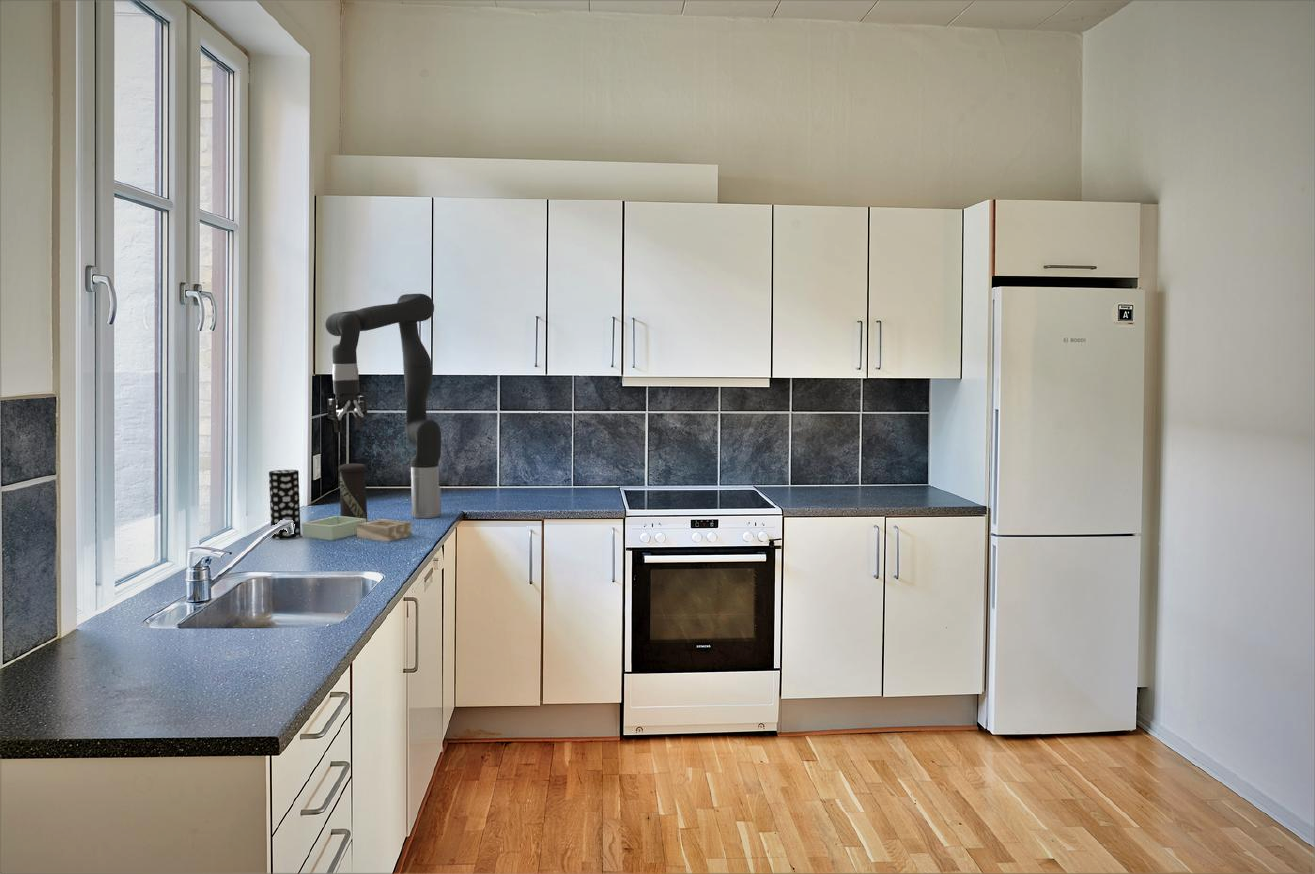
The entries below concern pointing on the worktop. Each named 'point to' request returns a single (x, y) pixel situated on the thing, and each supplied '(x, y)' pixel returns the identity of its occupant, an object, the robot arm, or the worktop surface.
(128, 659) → the worktop surface
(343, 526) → the bin
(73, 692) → the worktop surface
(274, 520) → the spotted tube
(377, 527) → the brown hollow flat block
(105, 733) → the worktop surface
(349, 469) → the container
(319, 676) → the worktop surface
